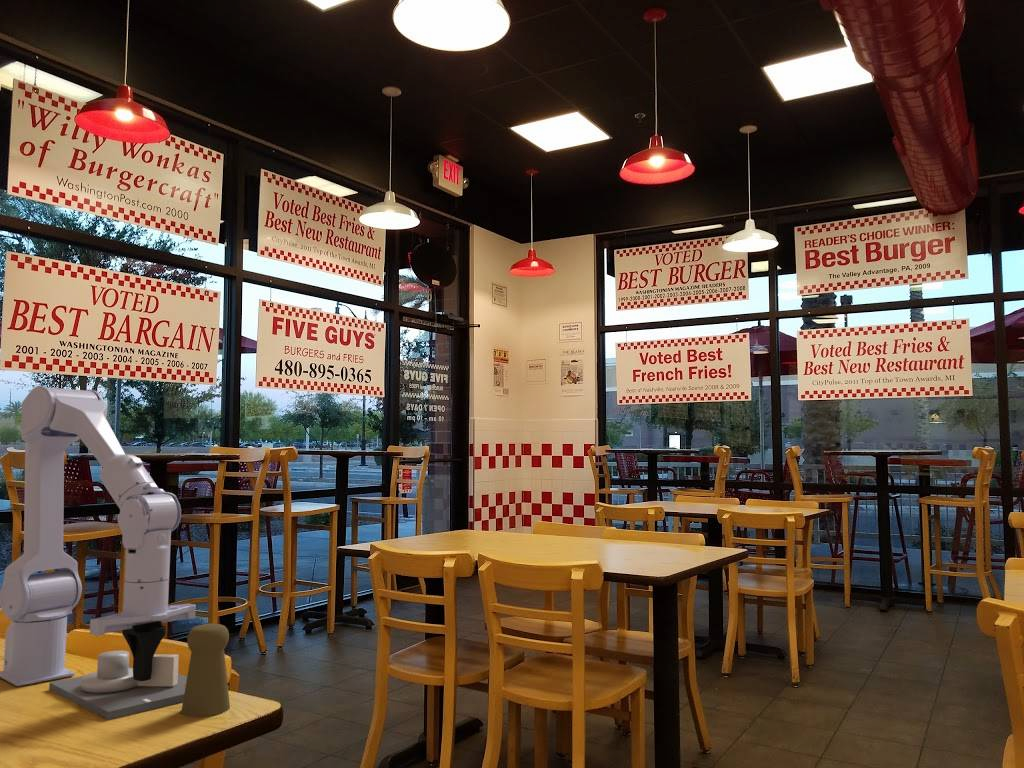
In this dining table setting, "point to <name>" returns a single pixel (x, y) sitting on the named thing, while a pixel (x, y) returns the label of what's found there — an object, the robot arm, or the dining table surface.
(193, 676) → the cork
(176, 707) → the dining table surface
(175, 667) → the dial
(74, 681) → the dial board
